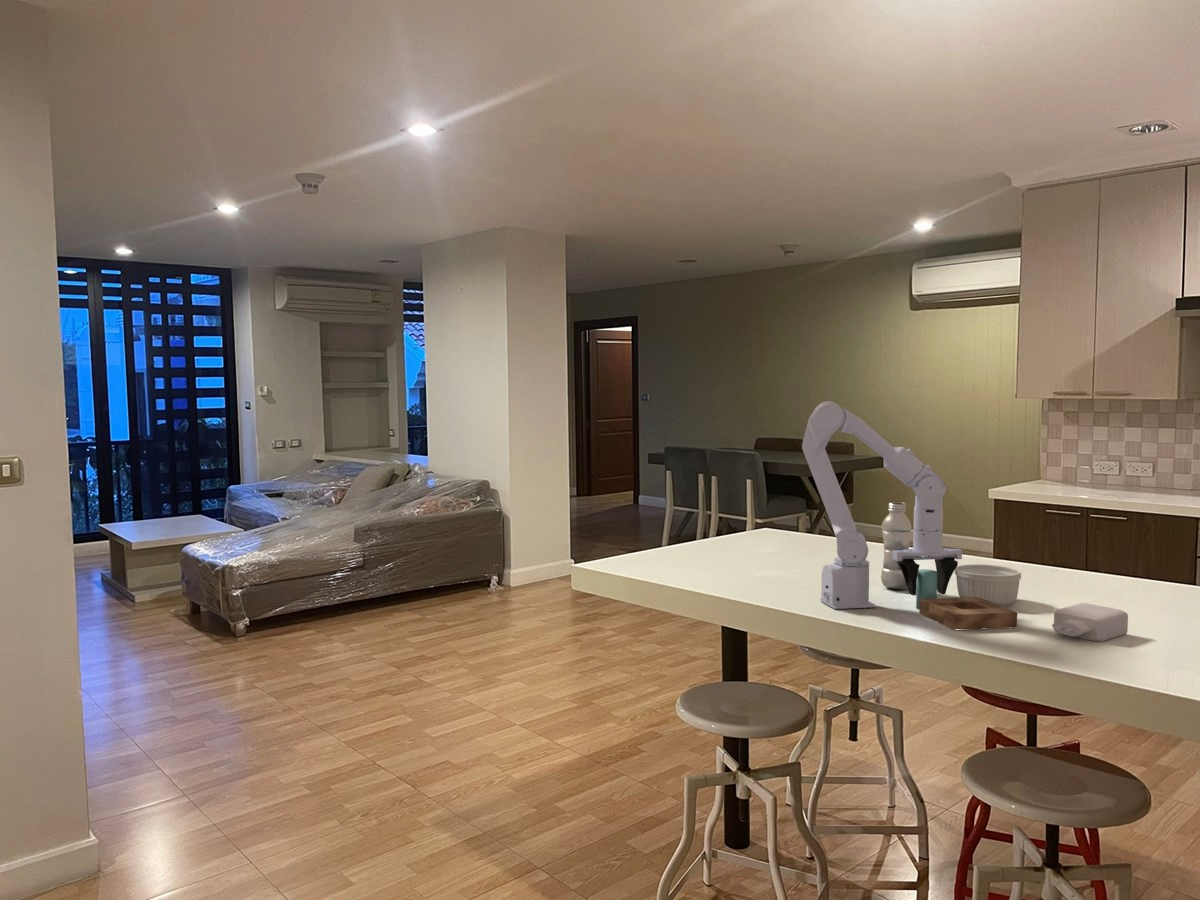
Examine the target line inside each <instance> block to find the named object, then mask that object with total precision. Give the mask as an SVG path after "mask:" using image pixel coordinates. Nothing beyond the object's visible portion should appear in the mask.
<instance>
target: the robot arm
mask: <svg viewBox="0 0 1200 900" xmlns="http://www.w3.org/2000/svg"><path fill="white" fill-rule="evenodd" d="M840 427H841V428H840ZM838 429H840V432H841V433H845V434H849V435H853V436H855V437H856V438H858V440H860V441H861V442H863V443H864V444H865V445H867V446H868V448H870V449H871V450H872V451H874V452H875V453H877V454H878V455H879V456H880V457H881V458H882V459H883V467H884V468H885V469H886V470H887V471H888V472H889V473H891V474H892V475H893V476H894V477H895V478H897V479H898V480H899V482H901V483H902V484H904V485H905V486H906V487H909V488H910V487H911V489H912V491H913V493H914V494H915V497H914V507H913V531H912V532H913V534H912V535H913V536H912V538H913V541H912V542H913V543H912V548H909V549H906V550H896V551H893V560H895V561H897V563H898V565H899V567H900V569H901V571H902V573H903V576H904V578H905V582H906V585H907V588H906V589H907V594H908V595H911V596H916V594H917V574H918V570H920V567H921V566H920V564H919V563H917V561H924V560H930V561H931V560H934V562H935V563H934V564H935V569H936V570H935V571H937V594H938V593H939V594H942V595H946V592H947V589H948V586H949V583H950V580H951V577H952V575H953V574H954V573H955V569H956V567H957V566H959V561H957V560H963V550H962V549H958V548H943V530H944V529H943V526H944V522H943V521H944V519H943V518H944V508H943V505H944V504H943V503H944V501H943V497H944V496H945V493H947V492H946V491H947V487H946V486H945V481H944V480H943V479H942V477H940V476H939V475H938V474H937V473H936V472H934V471H932V466H930V465H929V464H927V465H926V464H924V463H923V462H922V461H921V460H919V459H918V458H917V457H916V456H915V455H914V451H913V450H912V449H910V448H908V449H907V448H906V447H904V446H896V447H894V446H892V445H891V444H890V443H889V442H888V441H886V440H885V438H883V437H882V436H881V435H880V434H879V433H877V432H876V431H875V430H874V429H873V428H872V427H871V426H870V425H868V424H867V423H866V422H865V421H864V420H863V419H861V418H860V417H859V416H857V415H855V414H853V413H852V412H850V411H849V410H847V409H843V408H842V407H841V406H840V405H839V404H837V403H836V402H834V401H831V400H830V401H824V402H822V403H819V404H818V405H817V406H816V407H815V408H814V410H813V411H812V413H811V414H810V416H809V418H808V420H807V426H806V429H805V433H804V437H803V440H802V445H801V448H802V449H801V450H802V452H803V454H804V457H805V459H806V462H807V465H808V468H809V470H810V472H811V474H812V478H813V480H814V482H815V486H816V488H817V491H818V494H819V495H820V499H821V501H822V503H823V505H824V508H825V511H826V513H827V516H828V518H829V521H830V523H831V526H832V529H833V532H834V537H835V538H836V553H837V557H836V558H834V561H833V563H831V564H830V563H829V564H826V565H824V566H823V567H822V570H821V597H820V599H819V601H820V602H822V603H823V604H825V605H827V606H829V607H831V608H832V609H835V610H837V609H838V610H840V609H841V610H844V609H867V608H877V604H875V603H873V602H871V601H870V600H869V599H870V597H869V595H870V593H869V592H870V561H869V560H867V557H868V556H869V555H868V554H869V547H868V544H867V539H866V537H865V536H864V534H863V533H862V532H860V530H858V528H857V526H856V524H855V521H854V519H853V516H852V514H851V512H850V510H849V507H848V504H847V502H846V499H845V497H844V494H843V491H842V489H841V487H840V484H839V480H838V479H837V476H836V474H835V471H834V469H833V465H832V464H831V461H830V458H829V455H828V453H827V450H826V447H827V445H828V443H829V441H830V439H831V438H832V437H831V436H832V435H833V434H835V432H837V430H838Z"/></svg>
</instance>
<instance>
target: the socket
mask: <svg viewBox="0 0 1200 900" xmlns="http://www.w3.org/2000/svg"><path fill="white" fill-rule="evenodd" d="M918 611H919V612H918V613H920V615H921V614H922V616H924V617H925V618H928V619H930V620H932V621H934V622H936V621H937V622H936V623H938V622H939V623H938V624H940V623H941V625H942V624H943V626H944V625H945V626H944V627H946V626H947V627H946V628H948V627H950V628H949V629H951V628H952V629H951V630H953V629H954V630H953V631H956V630H955V629H973V630H983V629H982V628H986V629H985V630H988V629H987V628H995V629H1010V628H1011V627H1017V628H1018V611H1015V610H1013V609H1010V608H1007V607H1006V606H1000V605H998V604H995V603H993V602H990V601H987V600H985V599H982V598H980V597H961V598H960V597H941V598H940V597H939V598H938V597H937V598H936V599H920V606H919V610H918ZM1009 627H1010V628H1009ZM1011 629H1012V628H1011Z"/></svg>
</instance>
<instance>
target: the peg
mask: <svg viewBox="0 0 1200 900" xmlns="http://www.w3.org/2000/svg"><path fill="white" fill-rule="evenodd" d="M915 598H916V599H915V601H916V603H915V605H916V606H915V609H916V608H917V610H918V609H919V606H920V599H936V598H938V592H937V570H933V569H922V568H921V569H919V570H918V574H917V590H916V595H915Z"/></svg>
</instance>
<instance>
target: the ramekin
mask: <svg viewBox="0 0 1200 900" xmlns="http://www.w3.org/2000/svg"><path fill="white" fill-rule="evenodd" d="M954 575H955V576H956V577H955V579H956V587H957V593H958V596H959V598H961V597H980V598H982V599H985V600H987V601H990V602H993V603H995V604H998V605H1000V606H1003V607H1006V606H1005V605H1007V606H1010V605H1013V604H1014V603H1015V602H1017V599H1018V595H1019V589H1020V581H1021V579H1022V572H1021V570H1019V569H1017V568H1013V567H1009V566H1002V565H995V564H981V563H980V564H979V563H977V564H975V563H974V564H973V563H971V564H970V563H969V564H961V565H958V566H957V567H956V569H955V570H954Z"/></svg>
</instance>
